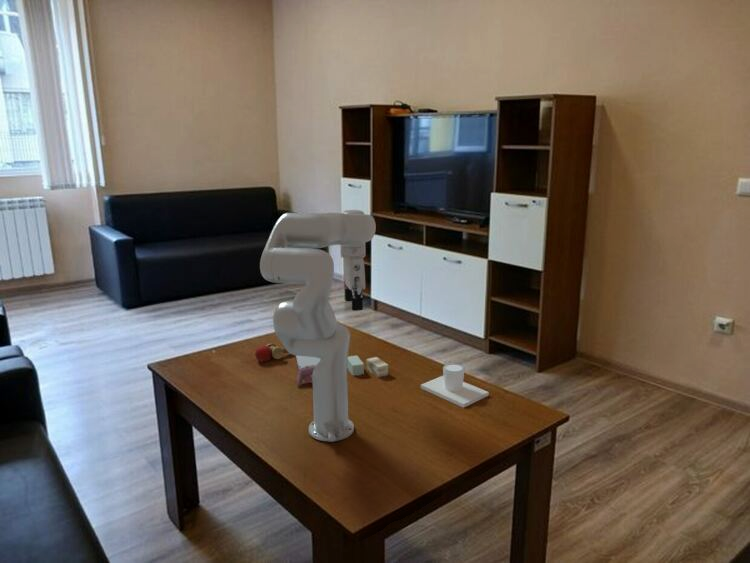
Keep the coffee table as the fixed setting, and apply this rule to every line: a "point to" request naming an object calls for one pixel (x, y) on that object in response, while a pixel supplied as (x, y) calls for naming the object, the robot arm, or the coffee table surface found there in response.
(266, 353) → the kendama
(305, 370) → the video game controller
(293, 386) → the coffee table surface
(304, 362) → the game console
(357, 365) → the sage block
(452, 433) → the coffee table surface
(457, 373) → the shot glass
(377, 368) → the birch block
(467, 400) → the ceramic tile
